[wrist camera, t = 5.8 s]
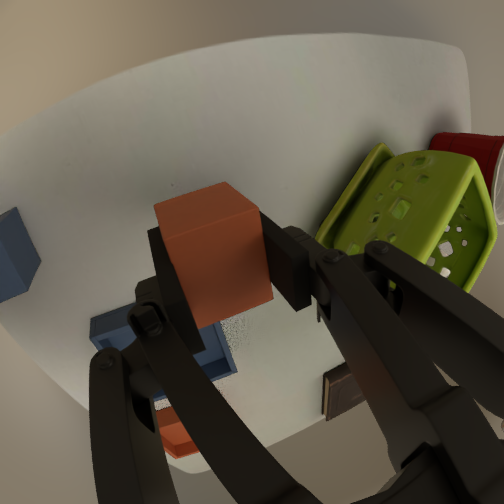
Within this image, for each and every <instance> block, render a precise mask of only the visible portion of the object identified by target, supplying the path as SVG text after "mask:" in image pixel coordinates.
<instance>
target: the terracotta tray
mask: <svg viewBox="0 0 504 504" xmlns="http://www.w3.org/2000/svg"><path fill="white" fill-rule="evenodd" d="M156 415H157V420H158V425H159V430H160V434H161V438H162V443H163V447H164V451H166V452H167V453H168V454H170V455H171V456H172V457H173V458H175V459H178V458H181V457H185V456H188V455H191V454H195V453H198V452H200V451H199V450H198V448H197V447H196V445H195V444H194V442H193V440H192V439H191V437H190V436H189V434H188V433H187V431H186V429H185V428H184V426H183V424H182V423H181V421H180V419H179V418H178V416H177V414H176V413H175V411H174V409H173V407H172V406H171V407H168V408H165V409H162V410H159V411H156Z"/></svg>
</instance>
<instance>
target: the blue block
mask: <svg viewBox="0 0 504 504" xmlns="http://www.w3.org/2000/svg"><path fill="white" fill-rule="evenodd" d="M40 262H41V260H40V258H39V256H38V254H37V252H36V250H35V248H34V246H33V243H32V241H31V239H30V237H29V235H28V233H27V231H26V228H25V226H24V224H23V222H22V219H21V217H20V215H19V212H18V210H17V207H14V208H13V209H11V210H9V211H7V212H5V213H4V214H2V215H0V303H1V302H4V301H6V300H8V299H10V298H13V297H15V296H17V295H20V294H22V293H24V292H26V291H28V290H29V287H30V285H31V283H32V280H33V278H34V276H35V273H36V271H37V269H38V267H39V265H40Z"/></svg>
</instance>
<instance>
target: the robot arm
mask: <svg viewBox="0 0 504 504" xmlns="http://www.w3.org/2000/svg"><path fill="white" fill-rule="evenodd" d="M259 212H260V218H261V224H262V231H263V237H264V243H265V249H266V256H267V262H268V268H269V274H270V281H271V282H272V284H273V285H274V286H275V287H276V288H277V290H278V291H279V292H280V293H281V294H282V296H283V297H284V298H285V299H286V300H287V302H288V303H289V304H290V305H291V306H292V308H293V309H294V310H295V311H296V312H297V311H299V310H301V309H304V308H306V307H308V306H310V305H312V303H311V295H312V296H313V297H314V298H315V299H316V300H317V320H318V323H319V322H320V316H321V317H322V319H323V320H324V322H325V324H326V326H327V328H328V330H329V331H330V333H331V335H332V337H333V339H334V341H335V342H336V344H337V346H338V348H339V350H340V352H341V354H342V355H343V357H344V359H345V361H346V363H347V365H348V367H349V369H350V370H351V372H352V374H353V376H354V378H355V380H356V382H357V384H358V386H359V387H360V389H361V391H362V393H363V395H364V397H365V399H366V401H367V403H368V405H369V407H370V409H371V411H372V413H373V415H374V416H375V418H376V421H377V422H378V424H379V426H380V428H381V430H382V432H383V434H384V436H385V438H386V441H387V444H388V455H389V458H390V461H391V463H392V465H393V467H394V470H395V472H396V475H394V476H393V477H392V478H390V479H389V481H388V482H387V483H386V484H385V485H384V486H383V487H382V488H381V489H380V490H379V491H378V493H377V494H375V495H373V496H370V497H368V498H365V499H362V500H360V501H357V502H354V503H351V504H504V440H502V439H498V437H497V435H496V434H495V432H494V430H493V429H492V427H491V426H490V424H489V422H488V421H487V419H486V418H485V416H484V415H483V413H482V411H481V410H480V408H479V407H478V405H477V404H476V402H475V401H474V399H475V400H476V401H477V402H478V403H479V404H480V405H482V406H483V407H484V408H485V409H486V410H488V411H490V412H491V413H493V414H494V415H496V416H498V417H500V418H502V419H504V319H503V318H502V317H501V316H499V315H498V314H497V313H495V312H494V311H493V310H491V309H490V308H488V307H487V306H486V305H484V304H483V303H481V302H480V301H479V300H477V299H476V298H474V297H473V296H472V295H470V294H469V293H467V292H466V291H464V290H463V289H461V288H460V287H458V286H457V285H456V284H454V283H453V282H451V281H450V280H448V279H447V278H445V277H443V276H442V275H440V274H439V273H437V272H436V271H434V270H433V269H431V268H430V267H428V266H426V265H425V264H423V263H422V262H420V261H418V260H417V259H415V258H414V257H412V256H410V255H409V254H407V253H405V252H404V251H402V250H401V249H399V248H397V247H396V246H394V245H392V244H390V243H388V242H386V241H381V240H374V241H370V242H368V243H367V244H366V245H365V247H364V253H361V254H355V255H347V254H346V253H345V252H344V251H342V250H339V249H332V248H331V249H326V248H325V247H324V246H323V245H321V244H320V243H319V242H317V241H316V240H315V239H313V238H311V236H309V235H308V234H306V233H305V232H304V231H303V230H301V229H300V228H297V227H294V226H288V227H286V228H283V229H282V228H280V227H279V226H278V225H277V224H275V223H274V222H273V221H272V220H271V219H269V218H268V217H267V216H266V215H264V214H263V213H262V212H261V211H259ZM147 232H148V238H149V243H150V248H151V253H152V257H153V262H154V267H155V271H156V276H153V277H150V278H148V279H145V280H142V281H140V282H138V284H137V286H136V289H135V295H136V303H137V304H135V305H134V306H133V307H132V308H131V309H130V310H129V311H128V314H127V322H128V324H129V325H130V327H131V329H132V330H133V332H134V334H135V335H136V339H135V340H134V341H133V342H132V343H131V344H130V345H129V346H127V347H126V348H124V349H123V350H121V351H119V350H118V349H117V348H114V347H106V348H104V349H101V350H99V351H98V352H97V353H96V354H95V355H94V356H93V358H92V359H91V362H90V370H89V416H90V417H89V418H90V438H91V451H92V462H93V470H94V478H95V485H96V492H97V498H98V503H99V504H179V501H178V497H177V494H176V491H175V488H174V484H173V481H172V478H171V474H170V470H169V466H168V463H167V459H166V455H165V451H164V447H163V443H162V438H161V434H160V430H159V425H158V420H157V415H156V410H155V405H154V400H153V395H154V394H156V393H157V392H158V391H160V390H161V389H163V391H164V393H165V395H166V397H167V398H168V400H169V402H170V404H171V406H172V407H173V409H174V411H175V413H176V414H177V416H178V418H179V419H180V421H181V423H182V424H183V426H184V428H185V429H186V431H187V433H188V434H189V436H190V437H191V439H192V440H193V442H194V444H195V445H196V447H197V448H198V450H199V451H200V453H201V454H202V456H203V457H204V459H205V460H206V462H207V463H208V464H209V466H210V467H211V469H212V470H213V472H214V473H215V474H216V476H217V477H218V479H219V480H220V481H221V483H222V484H223V485H224V487H225V488H226V489H227V491H228V492H229V493H230V494H231V496H232V497H233V498H234V499H235V501H236V502H237V503H238V504H323V503H322V502H320V501H319V500H318V499H317V498H316V497H315V496H314V495H313V494H312V493H311V492H310V491H309V490H307V489H306V488H305V487H304V486H302V485H301V484H299V483H298V482H297V481H296V480H295V479H293V477H292V476H291V475H289V474H288V472H287V471H286V470H285V469H284V468H283V467H282V466H281V465H280V464H279V463H278V462H277V461H276V459H274V457H273V456H272V455H271V454H270V453H269V452H268V451H267V450H266V449H265V447H264V446H263V445H262V444H261V443H260V442H259V440H258V439H257V438H256V437H255V436H254V435H253V433H252V432H251V431H250V430H249V429H248V427H247V426H246V425H245V424H244V423H243V421H242V420H241V419H240V418H239V416H238V415H237V414H236V413H235V411H234V410H233V409H232V408H231V406H230V405H229V404H228V403H227V401H226V400H225V399H224V397H223V396H222V395H221V394H220V392H219V391H218V390H217V388H216V387H215V386H214V384H213V383H212V382H211V380H210V379H209V378H208V376H207V375H206V373H205V372H204V371H203V369H202V368H201V367H200V365H199V364H198V362H197V361H196V359H195V358H194V357H193V355H194V354H197V353H200V352H202V351H205V350H206V347H205V345H204V342H203V340H202V338H201V335H200V333H199V330H198V328H197V325H196V322H195V320H194V317H193V315H192V312H191V310H190V307H189V305H188V302H187V300H186V297H185V295H184V292H183V289H182V287H181V284H180V282H179V279H178V276H177V274H176V271H175V268H174V266H173V264H172V263H171V261H170V258H169V255H168V252H167V250H166V247H165V244H164V241H163V238H162V234H161V231H160V228H159V226H158V227H155V228H153V229H150V230H147ZM391 281H392V282H393V283H395V284H396V287H395V289H394V288H392V287H390V282H391ZM433 362H434V363H435V364H436V365H437V366H438V367H439V368H441V369H442V370H443V371H444V372H445V373H446V374H447V375H448V376H449V377H450V378H452V379H453V380H454V381H455V382H456V383H457V384H458V385H459V386H451V385H449V384H448V383H447V382H446V380H445V379H444V378H443V376H442V375H441V373H440V372H439V370H438V369H437V368H436V366H435V365H434V363H433ZM473 398H474V399H473ZM501 428H502V430H503V432H504V420H503V421H502V424H501Z"/></svg>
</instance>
